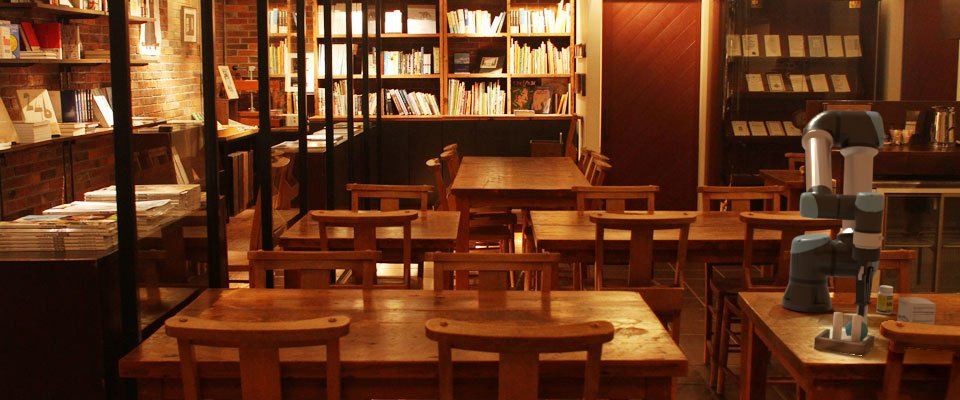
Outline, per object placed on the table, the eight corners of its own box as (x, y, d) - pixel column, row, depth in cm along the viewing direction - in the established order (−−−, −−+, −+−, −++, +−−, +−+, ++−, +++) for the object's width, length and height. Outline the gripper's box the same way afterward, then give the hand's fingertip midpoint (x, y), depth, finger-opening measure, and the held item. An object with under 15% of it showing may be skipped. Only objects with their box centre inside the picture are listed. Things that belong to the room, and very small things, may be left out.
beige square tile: (833, 338, 293) (833, 337, 293) (842, 331, 301) (842, 330, 301) (869, 344, 287) (869, 343, 287) (877, 336, 296) (878, 336, 296)
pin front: (844, 342, 288) (834, 348, 281) (846, 334, 288) (837, 341, 281) (852, 345, 287) (843, 352, 280) (855, 337, 287) (845, 344, 279)
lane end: (814, 348, 282) (814, 337, 282) (825, 339, 292) (826, 328, 292) (863, 356, 275) (864, 345, 275) (873, 346, 285) (874, 336, 285)
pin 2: (849, 348, 283) (851, 316, 282) (851, 346, 285) (853, 314, 284) (858, 349, 282) (860, 317, 281) (860, 347, 284) (862, 315, 283)
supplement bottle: (887, 315, 322) (889, 288, 321) (873, 312, 325) (875, 286, 324) (895, 313, 325) (897, 287, 324) (881, 310, 328) (883, 284, 327)
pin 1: (830, 345, 286) (832, 313, 285) (833, 343, 288) (835, 311, 287) (839, 346, 285) (841, 314, 283) (841, 344, 287) (844, 312, 285)
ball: (848, 313, 291) (848, 325, 296) (842, 329, 288) (842, 341, 293) (870, 318, 288) (870, 330, 293) (864, 335, 285) (864, 347, 290)
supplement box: (894, 340, 292) (897, 296, 290) (919, 340, 293) (923, 296, 291) (907, 347, 285) (911, 303, 283) (933, 347, 285) (936, 303, 284)
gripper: (875, 251, 288) (869, 333, 292) (885, 244, 299) (879, 324, 302) (847, 248, 292) (842, 329, 296) (858, 241, 303) (853, 320, 306)
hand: (861, 326), depth 299 cm, fingers closed
